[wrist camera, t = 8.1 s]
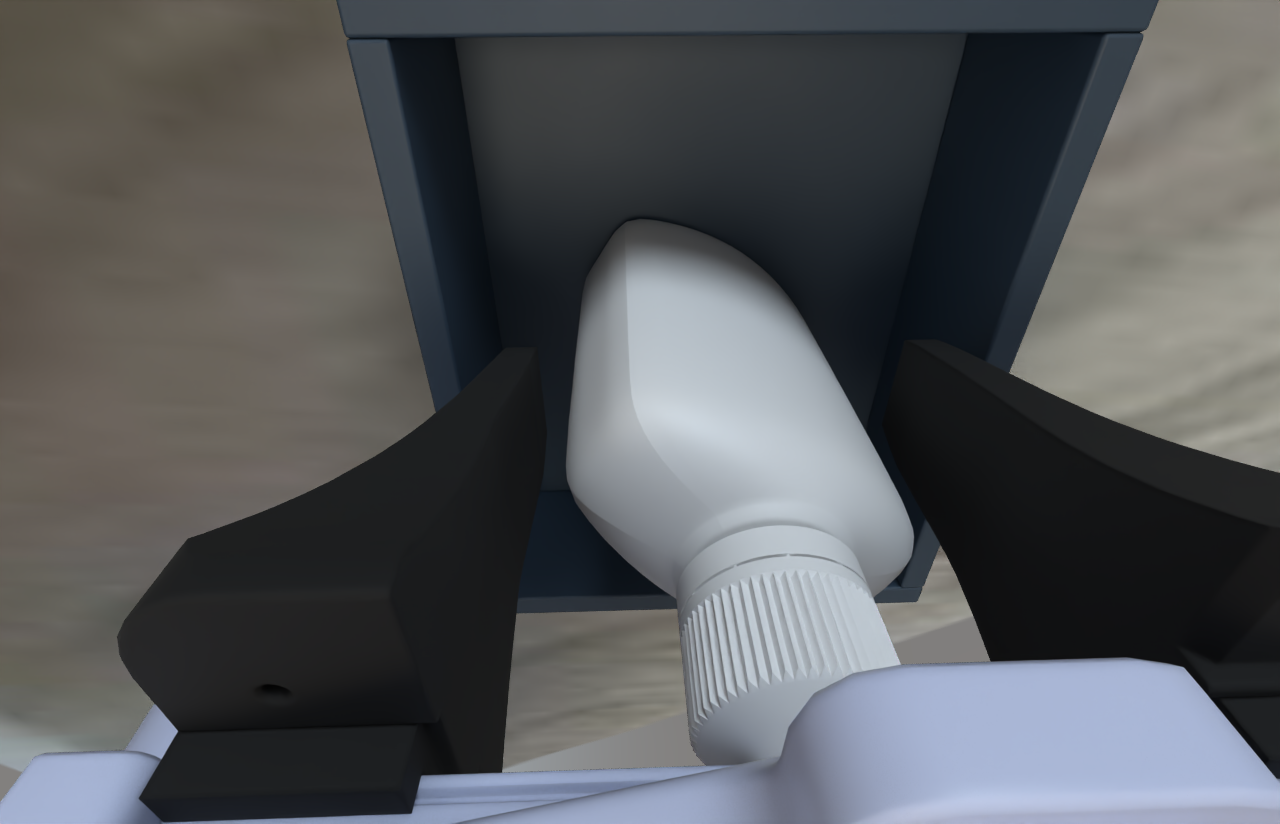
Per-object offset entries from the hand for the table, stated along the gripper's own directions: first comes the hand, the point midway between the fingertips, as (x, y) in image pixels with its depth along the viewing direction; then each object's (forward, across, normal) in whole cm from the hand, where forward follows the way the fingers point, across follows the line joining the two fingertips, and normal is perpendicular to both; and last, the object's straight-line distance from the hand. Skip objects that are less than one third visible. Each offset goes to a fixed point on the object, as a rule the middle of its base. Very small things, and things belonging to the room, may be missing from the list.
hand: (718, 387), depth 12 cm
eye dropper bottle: (+4, 0, 0) cm, 4 cm away
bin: (+4, 0, 0) cm, 4 cm away
